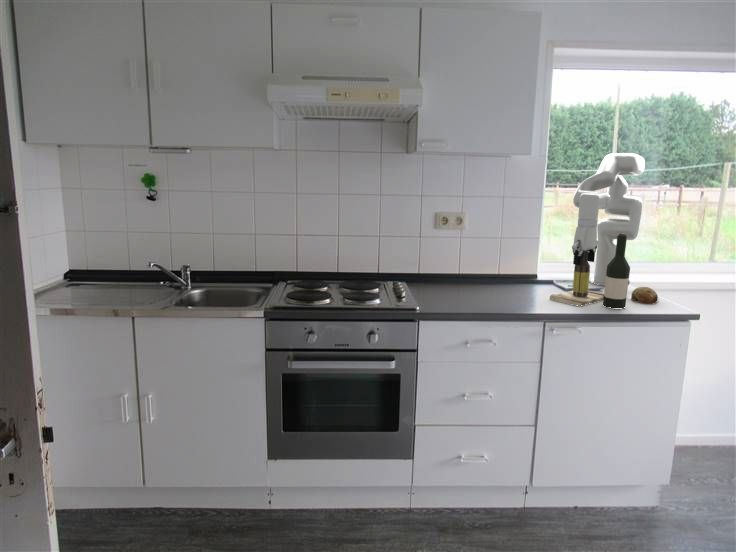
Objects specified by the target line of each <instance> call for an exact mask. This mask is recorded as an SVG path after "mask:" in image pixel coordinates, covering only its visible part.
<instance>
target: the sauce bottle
mask: <svg viewBox="0 0 736 552" xmlns="http://www.w3.org/2000/svg"><path fill="white" fill-rule="evenodd" d="M578 252H580V251H578ZM588 252H589V250H586V251H583V252H582V254H581V256H582V257H581V265H575V264H574V271H573V283H572V291H573V295H574V296H576V297H586V296H588V290H589V287H590V286H589V285H590V275H591V274H590V273H591V266H590V263H589V261H588Z"/></svg>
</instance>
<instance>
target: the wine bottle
mask: <svg viewBox="0 0 736 552" xmlns="http://www.w3.org/2000/svg"><path fill="white" fill-rule="evenodd" d="M627 241H628V240H627V236H626V234H625V233H619V235H618V236H617V239H616V243H617V244H616V253H615V257H614V258H613V259H612V260H611V262H610V263H609V264H608V265H607V272H606V281H605V286H604V288H603V289H604V290H603V293H604V298H603V301H602V306H603V305H604V306H606V307H611V308H624V307H625V308H626V305H627V299H628V298H627V296H628V290H629V281H630V271H631V266H630V265H629V263H628V261H627V259H626V246H627ZM604 306H603V307H604ZM606 307H605V308H606ZM611 308H610V309H611ZM625 308H624V309H625Z"/></svg>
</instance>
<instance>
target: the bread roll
mask: <svg viewBox="0 0 736 552" xmlns="http://www.w3.org/2000/svg"><path fill="white" fill-rule="evenodd" d="M630 295H631V300H632V302H635V303H639V304H644V305H654V304H657V302H658V299H659V296H658V293H657V292H656V291H655V290H654V289H653V288H650V287H649V286H641V287H636V288H635V289H633V290H632V292H631V294H630Z"/></svg>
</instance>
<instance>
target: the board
mask: <svg viewBox="0 0 736 552" xmlns="http://www.w3.org/2000/svg"><path fill="white" fill-rule="evenodd" d="M603 298H604V292H599V291H596V290H595V291H594V290H588V296H586V297H576V296H574V295H573V290H570V291H565V292H561V293H557V294H555V293H554V294H552V293H551V294H550V296H549V300H552V301H555V302H559V303H562V302H563V304H566V303H568V305H570V304H573V305H572V306H574V305H578V306H581V305H584V306H586V305H585V304H588V305H590V304H589V303H592V304H594V302H596V303H599V302H603ZM598 301H599V302H598ZM578 306H577V307H578ZM581 307H582V306H581Z"/></svg>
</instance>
